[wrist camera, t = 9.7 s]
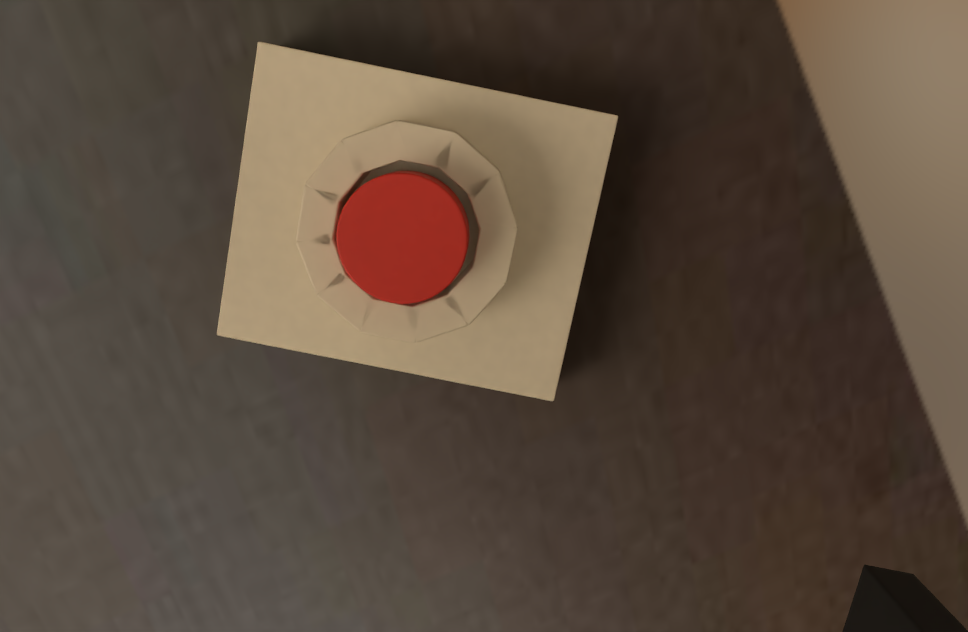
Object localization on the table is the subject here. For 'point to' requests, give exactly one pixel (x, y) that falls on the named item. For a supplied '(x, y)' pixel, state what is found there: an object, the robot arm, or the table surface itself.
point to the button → (403, 237)
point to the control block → (451, 159)
